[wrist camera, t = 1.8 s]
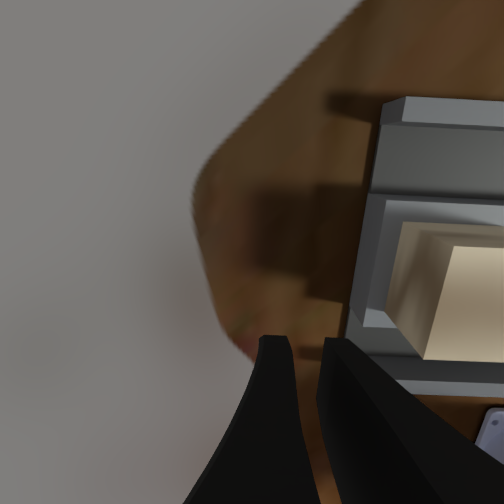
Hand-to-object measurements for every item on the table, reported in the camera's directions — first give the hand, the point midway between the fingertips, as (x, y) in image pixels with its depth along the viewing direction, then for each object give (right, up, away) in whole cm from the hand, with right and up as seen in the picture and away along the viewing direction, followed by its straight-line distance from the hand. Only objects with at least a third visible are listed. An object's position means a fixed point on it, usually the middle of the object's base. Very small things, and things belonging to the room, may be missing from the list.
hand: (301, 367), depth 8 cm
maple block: (+8, +2, +8) cm, 12 cm away
